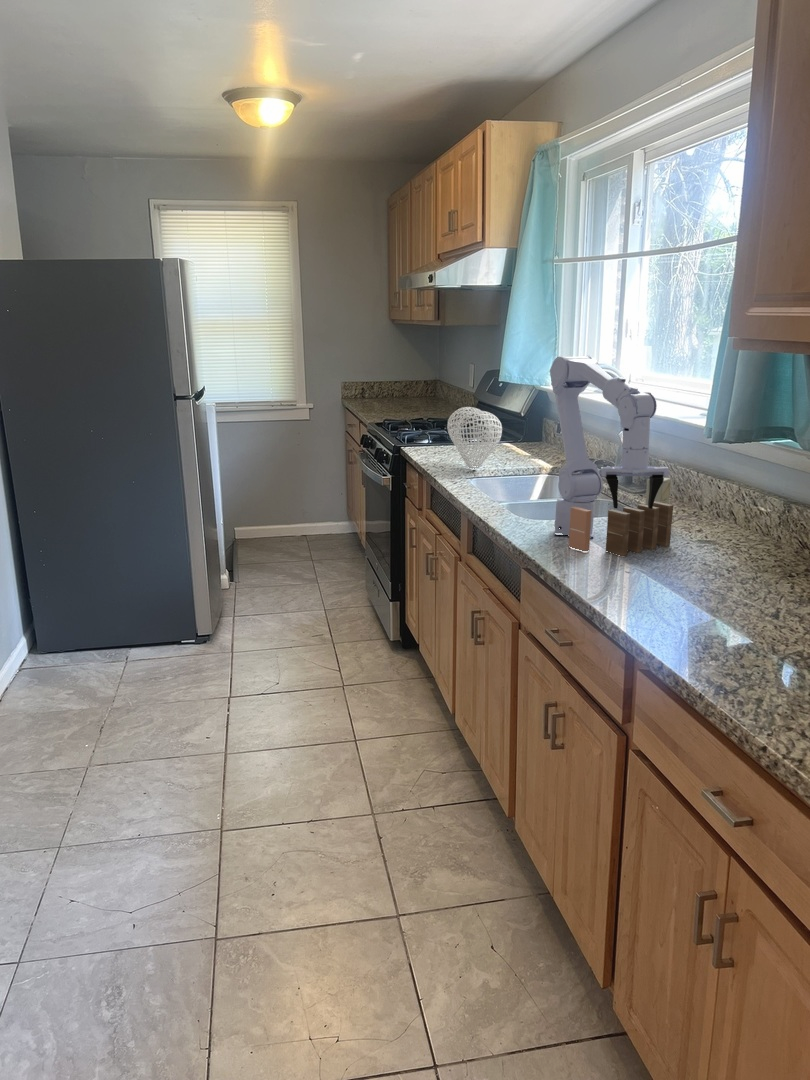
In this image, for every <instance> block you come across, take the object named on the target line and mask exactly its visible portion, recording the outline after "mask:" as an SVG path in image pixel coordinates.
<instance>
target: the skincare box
mask: <svg viewBox="0 0 810 1080" xmlns="http://www.w3.org/2000/svg"><path fill="white" fill-rule="evenodd" d="M663 478H664V481H663V483H662V485H661V486H660V488H659V490H658V492H657V495H656V497H655V500H654V502H655V501H657V502H661V503H666V504H670V490H671V480H672V479H671V478H670V477H663ZM648 500H649V478H648V479H647V480H646V492H645V502H644V503H645V505H648Z"/></svg>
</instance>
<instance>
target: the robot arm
mask: <svg viewBox="0 0 810 1080" xmlns="http://www.w3.org/2000/svg"><path fill="white" fill-rule="evenodd" d="M549 375H550V379H551V385H552V386H551V387H552V393H554V398H555V402H556V408H557V410H556V411H557V414H558V415H557V416H558V421H559V428H560V433H561V438H562V444H563V450H564V457H565V463H564V465H563V466H562V467H561V468H560V469H559V470H558V471H557V473H558V483H557V484H558V491H559V494H560V496H561V497H562V498H557V499H556V506H555V520H554V534H555V533H562V534H563V535H569V529H570V510H571V507H579V508H583V509H587V510H591V526H590V537H593V538H594V536H595V531H596V529H595V528H594V516H595V515H594V514H595V501H596V500H597V499H598V496H600V495H601V493H602V492H603V487H604V481H603V478H602V477H605V480H606V482H607V485H608V487H609V490H610V493H611V498H612V504H613V509H618V507H619V506H618V505H619V503H618V498H619V497H618V491H619V478H618V477H649V478H648V479H649V500H648V508H649V509H653V504H654V500H655V497H656V495H657V492H658V490H659V488H660V486H661V485H662V483H663V481H664V478H669V471H670V469H669V467H668V466H651V465H649V449H650V429H651V418H653V417H654V416H655V414H656V411H657V409H658V408H657V406H658V405H657V404H658V403H657V401H656V398H655V397H654V395H653V394H652V393H651V392H649V391H647V392H646V391H645V392H641V391H639V389H638V388H637V387H635V386H632V385H631V384H630V383H629V382H627V381H626V380H627V379H626V378H625V377H623V376H621V377H620V376H618V377H617V376H616V377H612V376H610V375H609V373H608V372H606V371H605V370H604V369H603V368H602V367H600V366H599V363H598V360H597V359H595V358H594V357H593V356H591V355H586V356H561V355H560V356H556V357H555V358H554V360H553V361H552V364H551V367H550V369H549ZM590 384H592V385H593V386H595V387H596V388H598V389H599V390H601V391H602V396H603V397H602V398H604V399H605V400H606V401H607V402H608V403H610V404H611V405H612V406H614V407H615V408H616V409H617V412H618V415H619V418H620V425H621V428H622V447H621V465H620V466H601V468H600V472H599V469H598V465H597V464H596V463H594V462H593V461H592V460H590V459H589V456H588V451H587V446H586V439H585V434H584V428H583V422H582V417H581V411H580V404H579V399H578V398H579V396H580V394H581V393H583V392H584V391H585V390H586V389H587V388H588V387H589V385H590ZM559 528H560V529H559Z"/></svg>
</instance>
